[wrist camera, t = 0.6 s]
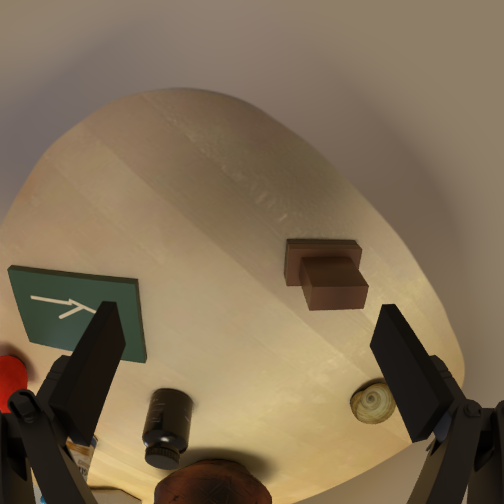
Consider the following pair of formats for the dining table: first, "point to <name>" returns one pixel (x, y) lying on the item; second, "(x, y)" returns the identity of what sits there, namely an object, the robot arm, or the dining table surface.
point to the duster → (326, 273)
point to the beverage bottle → (80, 457)
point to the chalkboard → (75, 307)
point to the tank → (114, 497)
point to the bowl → (211, 485)
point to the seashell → (373, 404)
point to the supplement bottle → (167, 428)
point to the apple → (11, 379)
